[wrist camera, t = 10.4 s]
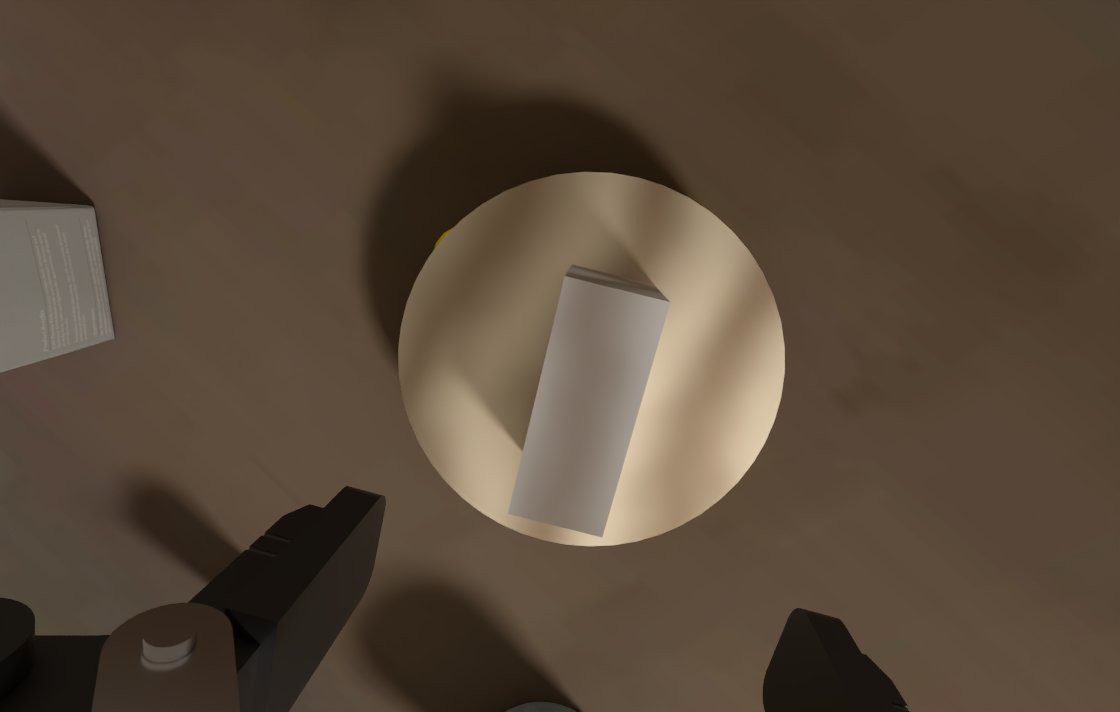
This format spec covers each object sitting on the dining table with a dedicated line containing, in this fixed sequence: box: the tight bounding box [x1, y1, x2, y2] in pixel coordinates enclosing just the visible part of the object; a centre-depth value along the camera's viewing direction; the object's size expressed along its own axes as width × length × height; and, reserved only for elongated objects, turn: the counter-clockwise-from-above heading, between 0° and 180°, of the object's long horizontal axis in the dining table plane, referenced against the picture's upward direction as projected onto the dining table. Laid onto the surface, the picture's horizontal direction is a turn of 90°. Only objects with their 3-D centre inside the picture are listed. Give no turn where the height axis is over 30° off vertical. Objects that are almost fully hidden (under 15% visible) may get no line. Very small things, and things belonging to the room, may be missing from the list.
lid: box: [398, 172, 785, 546], centre depth 25 cm, size 19×19×7 cm
